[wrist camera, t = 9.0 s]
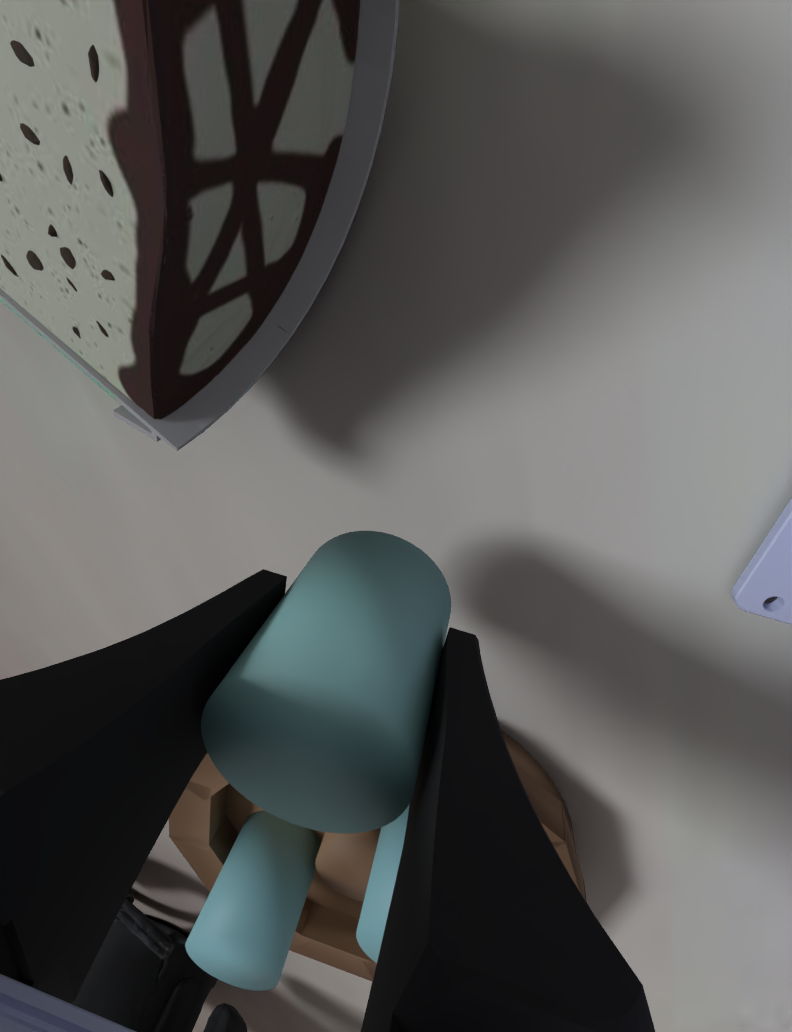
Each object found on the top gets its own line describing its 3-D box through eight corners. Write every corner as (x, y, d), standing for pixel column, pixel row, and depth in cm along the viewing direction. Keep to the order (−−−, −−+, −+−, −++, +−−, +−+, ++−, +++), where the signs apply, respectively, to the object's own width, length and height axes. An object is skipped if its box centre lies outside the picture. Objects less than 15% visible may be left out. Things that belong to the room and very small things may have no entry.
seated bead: (497, 793, 20) (491, 944, 15) (469, 849, 21) (458, 997, 17) (399, 761, 20) (367, 899, 16) (381, 818, 22) (347, 955, 17)
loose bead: (469, 558, 12) (440, 722, 8) (430, 674, 14) (389, 858, 10) (314, 512, 12) (203, 642, 8) (297, 631, 14) (199, 789, 10)
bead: (316, 873, 25) (274, 1001, 21) (242, 846, 25) (185, 966, 21) (327, 828, 23) (283, 959, 19) (246, 799, 23) (185, 921, 19)
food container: (88, 189, 17) (321, 364, 16) (-121, 233, 13) (177, 464, 12) (-16, -682, 7) (536, -318, 7) (-937, -1513, 3) (207, -795, 3)
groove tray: (647, 760, 19) (665, 826, 16) (502, 969, 27) (501, 1030, 25) (202, 619, 20) (163, 661, 18) (197, 857, 29) (171, 905, 27)
